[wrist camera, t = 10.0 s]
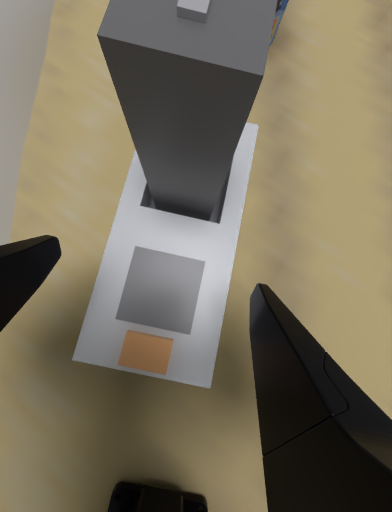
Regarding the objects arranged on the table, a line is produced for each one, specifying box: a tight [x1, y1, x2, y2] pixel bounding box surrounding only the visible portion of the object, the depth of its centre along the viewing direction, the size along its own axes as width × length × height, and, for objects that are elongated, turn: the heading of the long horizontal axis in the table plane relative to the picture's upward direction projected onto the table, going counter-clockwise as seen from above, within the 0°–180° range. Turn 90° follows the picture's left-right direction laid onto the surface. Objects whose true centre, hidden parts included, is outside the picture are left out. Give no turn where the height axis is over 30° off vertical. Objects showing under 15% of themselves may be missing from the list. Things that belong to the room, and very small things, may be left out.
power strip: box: [72, 122, 259, 389], centre depth 15 cm, size 20×9×3 cm, turn 168°
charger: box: [97, 0, 278, 221], centre depth 12 cm, size 4×4×12 cm
